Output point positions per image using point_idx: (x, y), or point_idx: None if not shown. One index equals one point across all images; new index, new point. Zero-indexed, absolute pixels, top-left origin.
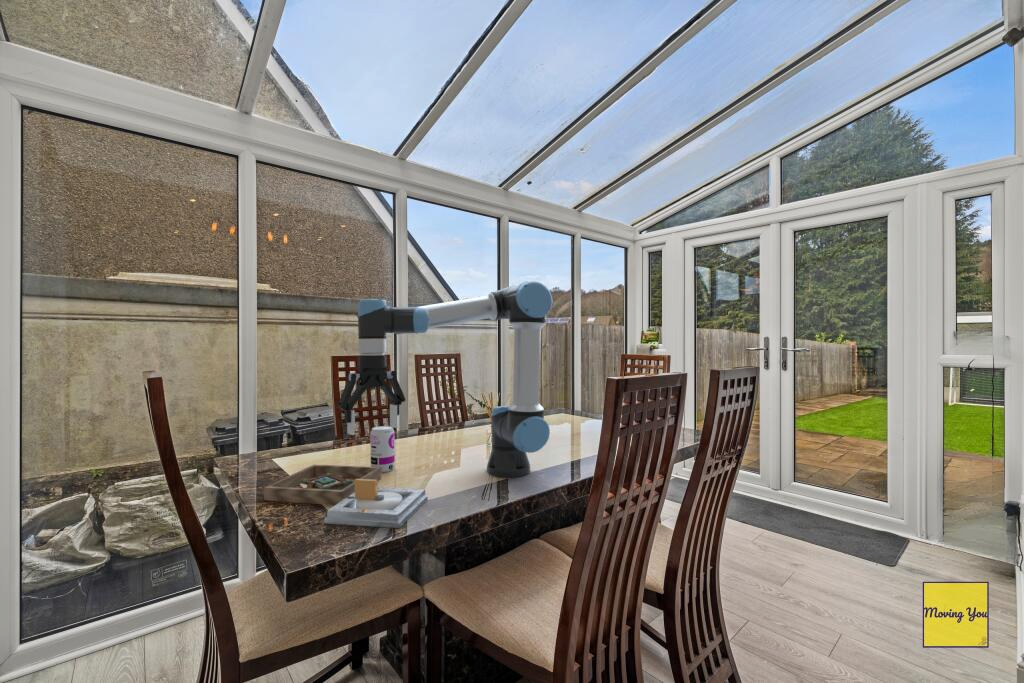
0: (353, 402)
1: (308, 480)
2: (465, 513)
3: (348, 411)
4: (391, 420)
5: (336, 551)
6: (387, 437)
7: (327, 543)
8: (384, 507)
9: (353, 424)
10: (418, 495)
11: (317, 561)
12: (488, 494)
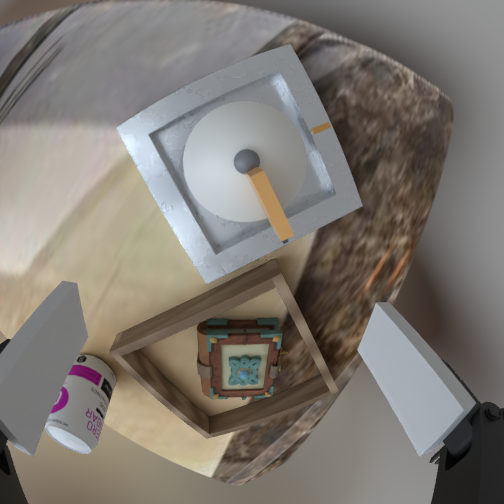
0: (498, 456)
1: (263, 390)
2: (142, 7)
3: (475, 407)
4: (67, 350)
5: (404, 85)
6: (65, 411)
7: (399, 121)
8: (273, 108)
9: (416, 339)
10: (161, 100)
11: (430, 90)
12: (35, 66)
